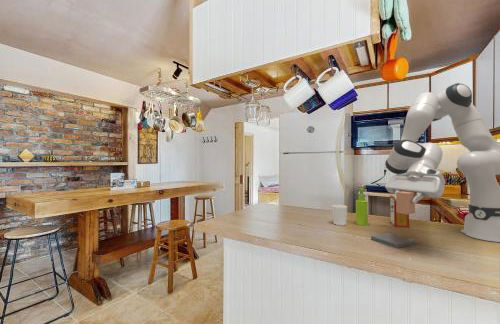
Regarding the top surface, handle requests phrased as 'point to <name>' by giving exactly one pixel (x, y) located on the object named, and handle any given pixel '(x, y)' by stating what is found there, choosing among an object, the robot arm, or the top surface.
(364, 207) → the soap dispenser
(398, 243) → the slate coaster
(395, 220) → the baking soda box
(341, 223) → the white cup
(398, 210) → the terracotta block
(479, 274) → the top surface
